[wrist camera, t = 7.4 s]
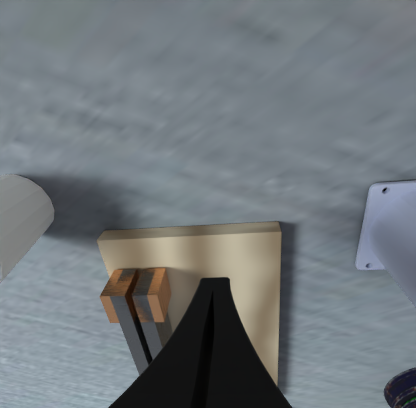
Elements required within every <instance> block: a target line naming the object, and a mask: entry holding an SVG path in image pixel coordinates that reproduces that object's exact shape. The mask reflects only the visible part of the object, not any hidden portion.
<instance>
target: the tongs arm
mask: <svg viewBox="0 0 416 408" xmlns="http://www.w3.org/2000/svg"><path fill="white" fill-rule="evenodd" d="M132 298H133V301H134V304H135V307H136V311H137V314H138V317H139V320H140V323H141V326H142V329H143V332H144V335H145V338H146V341H147V344H148V347H149V350H150V353H151V356H152V359H154V358H155V357H156V356H157V354H158V353H159V352H160V351H161V349H162V348H163V346H164V345H165V344H166V342H167V341H168V339H169V338H170V337H171V335H172V333H173V332H172V328H171V324H170V320H169V316H168V312H167V310H168V306H169V302H170V298H171V289H170V285H169V281H168V276H167V272H166V268H152V269H143V270H142V272H141V274H140V277H139V279H138V282H137V284H136V286H135V289H134V291H133V294H132Z"/></svg>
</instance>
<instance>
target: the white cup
mask: <svg viewBox="0 0 416 408" xmlns="http://www.w3.org/2000/svg"><path fill="white" fill-rule="evenodd" d="M54 211H55V210H54V207H53V204H52V202H51V199H50V198H49V196H48V195H47V194H46V193H45V191H44V190H43V189H42V188H41V187H40V186H38V185H37V184H36V183H34V182H33V181H31V180H30V179H27V178H24V177H21V176H18V175H1V176H0V283H1V282H2V281H3V279H4V278H5V277H6V276H7V275H8V274H9V273H10V271H11V270H12V269H13V268H14V267H15V266H16V264H17V263H18V262H19V261H20V260H21V259H22V258H23V256H24V255H25V254H26V253H27V252H28V251H29V249H30V248H31V247H32V246H33V245H34V244H35V243H36V241H37V240H38V239H39V238H40V237H41V236H42V235H43V233H44V232H45V231H46V230H47V229H48V228H49V226H50V225H51V223H52V222H53V221H54Z"/></svg>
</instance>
